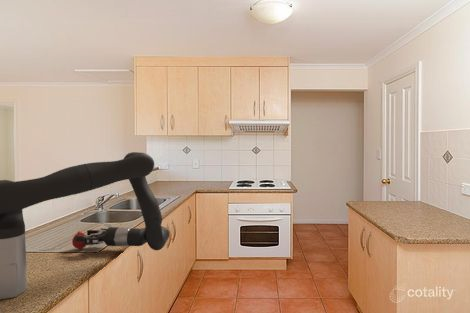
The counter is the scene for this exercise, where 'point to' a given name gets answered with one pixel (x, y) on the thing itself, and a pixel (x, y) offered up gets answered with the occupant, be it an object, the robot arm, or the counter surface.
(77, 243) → the onion
